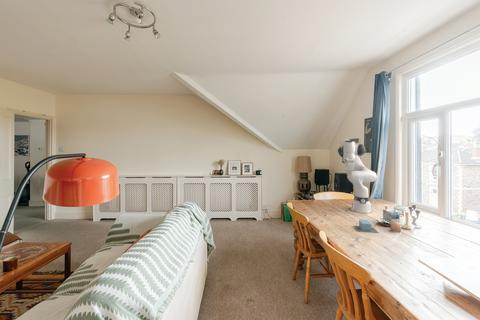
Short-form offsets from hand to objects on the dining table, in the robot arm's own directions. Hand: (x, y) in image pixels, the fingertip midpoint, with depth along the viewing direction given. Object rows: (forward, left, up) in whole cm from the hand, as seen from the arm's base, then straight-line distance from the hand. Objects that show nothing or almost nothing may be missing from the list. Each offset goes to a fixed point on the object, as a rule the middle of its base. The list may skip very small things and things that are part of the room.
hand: (348, 175), depth 183 cm
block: (+16, +8, -34) cm, 39 cm away
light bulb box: (+4, +30, -37) cm, 48 cm away
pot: (+20, +28, -37) cm, 51 cm away
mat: (+23, +8, -37) cm, 44 cm away
